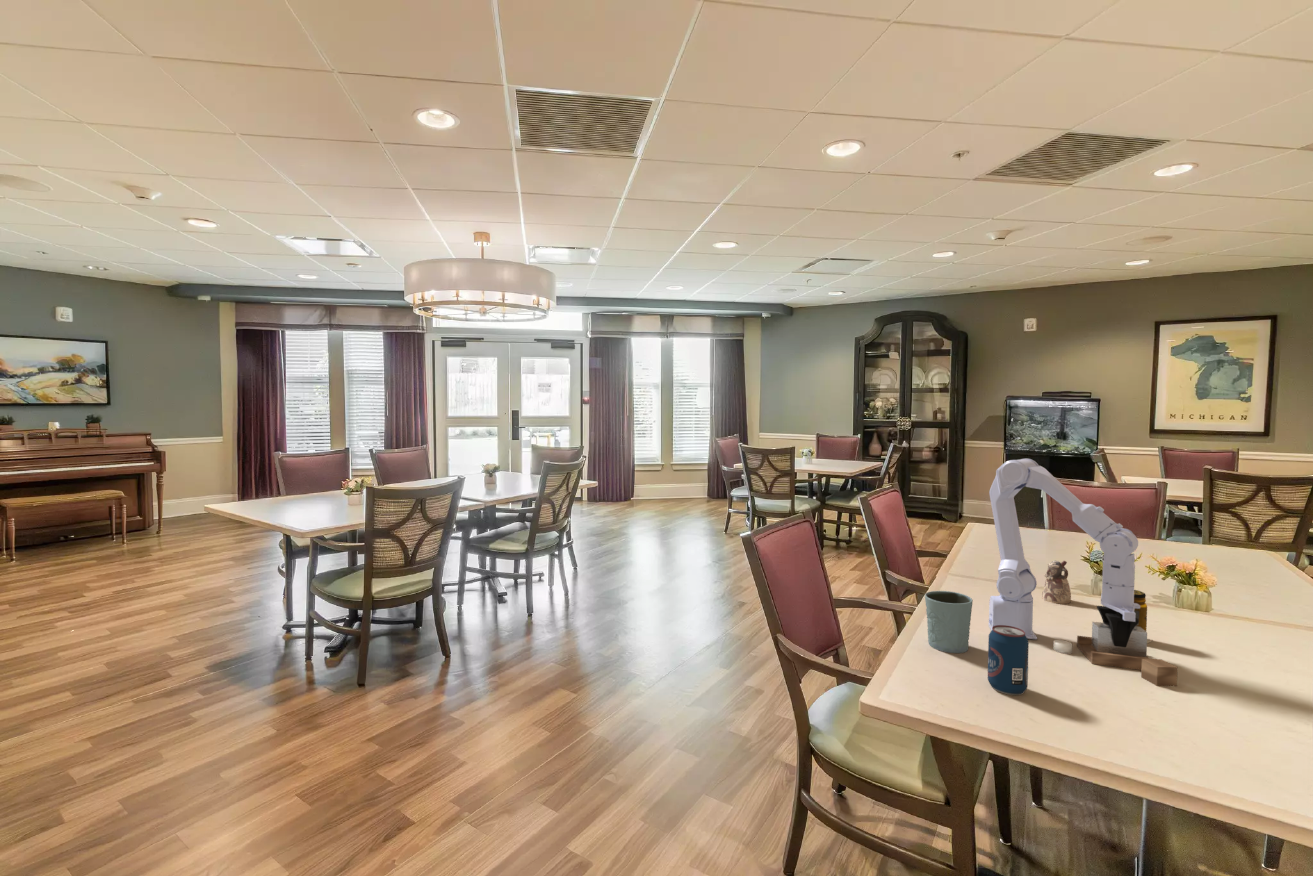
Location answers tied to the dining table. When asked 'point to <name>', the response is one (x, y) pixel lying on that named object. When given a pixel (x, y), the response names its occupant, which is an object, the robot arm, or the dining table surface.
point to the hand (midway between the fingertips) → (1116, 642)
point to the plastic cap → (1062, 646)
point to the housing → (1105, 644)
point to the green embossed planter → (948, 620)
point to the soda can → (1008, 660)
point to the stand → (1108, 656)
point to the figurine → (1056, 584)
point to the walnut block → (1159, 672)
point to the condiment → (1141, 610)
